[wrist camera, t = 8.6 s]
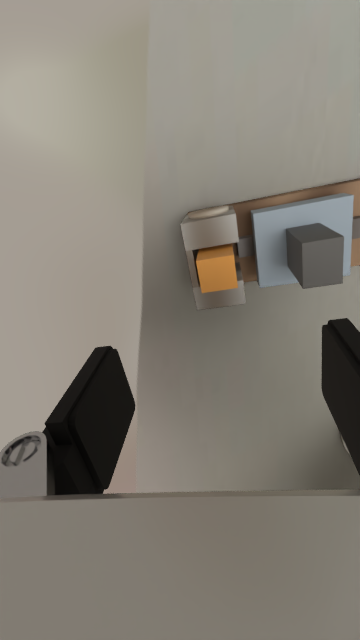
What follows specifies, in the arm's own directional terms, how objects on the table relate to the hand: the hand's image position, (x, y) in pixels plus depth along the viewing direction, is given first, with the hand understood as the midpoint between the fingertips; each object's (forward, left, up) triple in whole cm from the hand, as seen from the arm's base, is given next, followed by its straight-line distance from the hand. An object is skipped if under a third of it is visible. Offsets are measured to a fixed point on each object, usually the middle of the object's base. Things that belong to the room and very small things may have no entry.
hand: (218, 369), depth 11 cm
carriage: (-6, 0, -17) cm, 18 cm away
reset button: (0, 0, -15) cm, 15 cm away
